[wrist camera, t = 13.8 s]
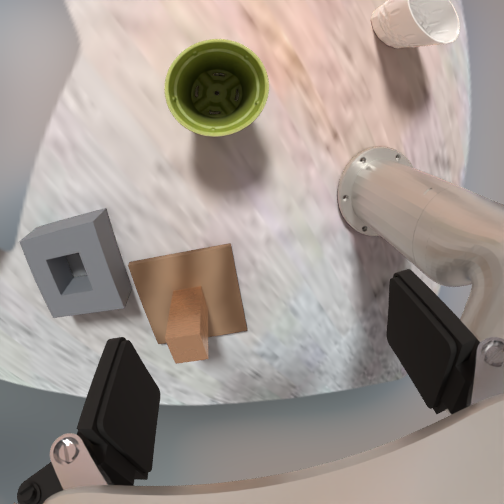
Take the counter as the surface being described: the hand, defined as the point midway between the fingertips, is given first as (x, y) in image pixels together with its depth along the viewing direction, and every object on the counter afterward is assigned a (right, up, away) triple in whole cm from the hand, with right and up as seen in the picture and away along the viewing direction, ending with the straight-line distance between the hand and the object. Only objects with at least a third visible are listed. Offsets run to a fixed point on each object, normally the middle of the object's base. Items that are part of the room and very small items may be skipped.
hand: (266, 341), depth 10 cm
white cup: (+18, +33, +20) cm, 43 cm away
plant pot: (-5, +21, +22) cm, 31 cm away
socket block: (-24, +2, +28) cm, 37 cm away
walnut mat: (-9, -3, +33) cm, 34 cm away
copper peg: (-9, -4, +32) cm, 33 cm away
